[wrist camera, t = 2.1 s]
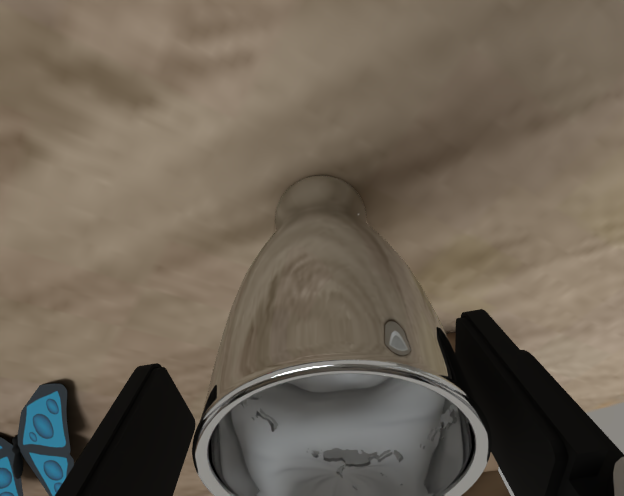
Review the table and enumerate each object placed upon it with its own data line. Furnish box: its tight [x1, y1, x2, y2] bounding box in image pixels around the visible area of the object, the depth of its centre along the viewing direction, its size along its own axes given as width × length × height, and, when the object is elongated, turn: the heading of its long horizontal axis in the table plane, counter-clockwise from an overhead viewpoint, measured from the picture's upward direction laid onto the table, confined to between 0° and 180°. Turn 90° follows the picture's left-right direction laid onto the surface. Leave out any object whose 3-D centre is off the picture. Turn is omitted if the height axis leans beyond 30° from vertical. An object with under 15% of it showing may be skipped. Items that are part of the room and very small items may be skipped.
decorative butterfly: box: [0, 384, 74, 496], centre depth 30 cm, size 20×14×3 cm
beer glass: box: [192, 175, 492, 496], centre depth 13 cm, size 7×7×15 cm
